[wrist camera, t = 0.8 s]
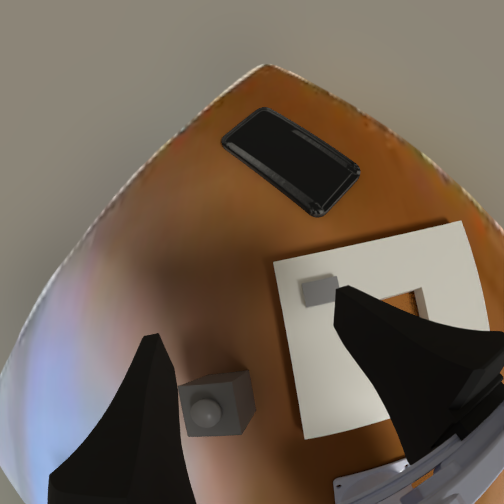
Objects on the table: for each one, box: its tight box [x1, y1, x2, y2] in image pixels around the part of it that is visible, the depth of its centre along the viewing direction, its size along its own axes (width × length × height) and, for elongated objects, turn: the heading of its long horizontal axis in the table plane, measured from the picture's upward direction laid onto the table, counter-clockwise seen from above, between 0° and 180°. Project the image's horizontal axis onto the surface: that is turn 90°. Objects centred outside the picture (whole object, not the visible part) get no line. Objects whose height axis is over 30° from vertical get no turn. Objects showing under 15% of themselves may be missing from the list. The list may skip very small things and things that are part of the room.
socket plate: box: [273, 221, 490, 439], centre depth 22 cm, size 16×20×3 cm
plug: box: [178, 370, 256, 437], centre depth 20 cm, size 4×4×8 cm
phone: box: [222, 107, 360, 217], centre depth 30 cm, size 8×1×15 cm
